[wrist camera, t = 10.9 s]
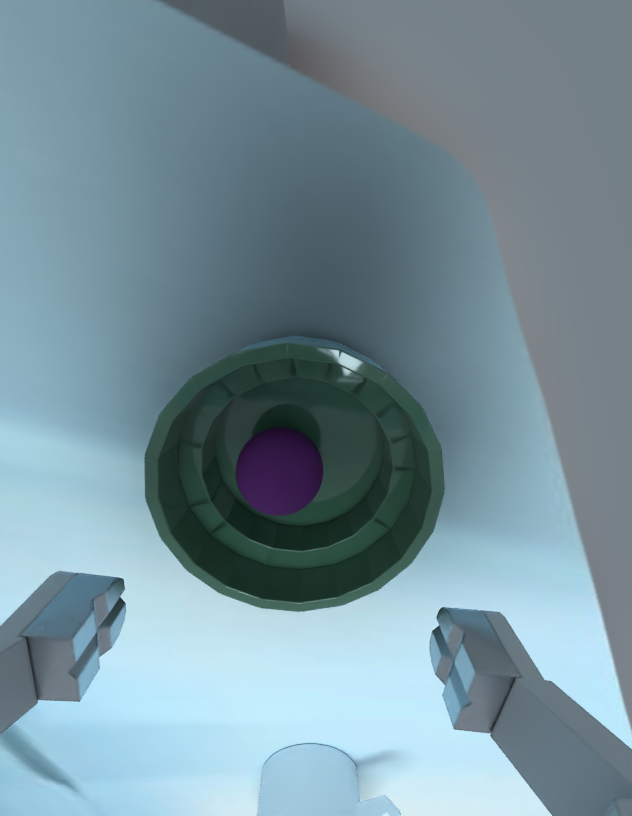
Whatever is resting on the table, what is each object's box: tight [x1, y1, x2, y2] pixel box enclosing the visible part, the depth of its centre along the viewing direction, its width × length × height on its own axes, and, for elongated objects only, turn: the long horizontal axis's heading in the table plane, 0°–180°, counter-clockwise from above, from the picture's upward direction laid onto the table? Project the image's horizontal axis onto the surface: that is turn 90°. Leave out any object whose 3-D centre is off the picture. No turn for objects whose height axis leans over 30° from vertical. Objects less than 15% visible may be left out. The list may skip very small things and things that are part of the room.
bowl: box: [145, 335, 445, 612], centre depth 17 cm, size 13×13×5 cm
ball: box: [236, 427, 323, 516], centre depth 16 cm, size 4×4×4 cm
